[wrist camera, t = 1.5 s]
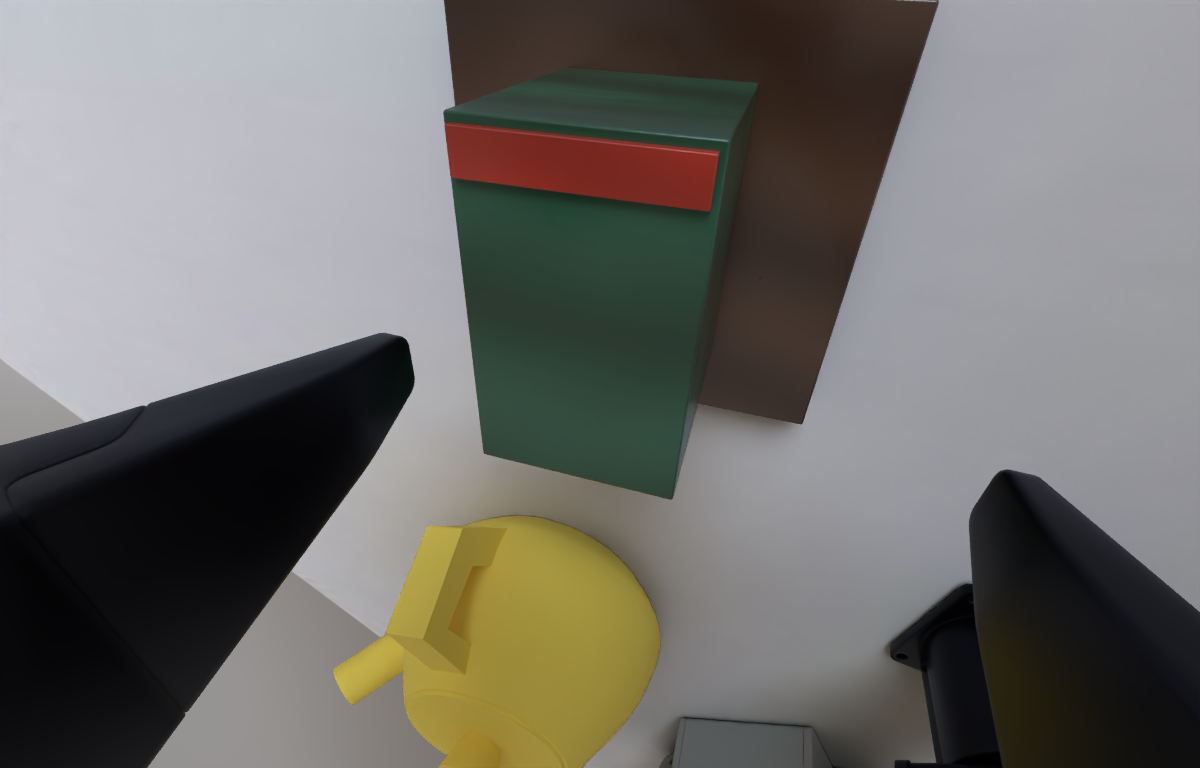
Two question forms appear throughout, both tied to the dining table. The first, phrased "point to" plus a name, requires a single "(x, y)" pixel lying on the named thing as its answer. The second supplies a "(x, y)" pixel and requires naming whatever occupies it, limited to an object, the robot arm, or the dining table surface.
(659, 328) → the green box
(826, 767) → the digital clock
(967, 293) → the dining table surface
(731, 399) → the brown square board
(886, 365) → the dining table surface
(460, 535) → the teapot
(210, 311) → the dining table surface
